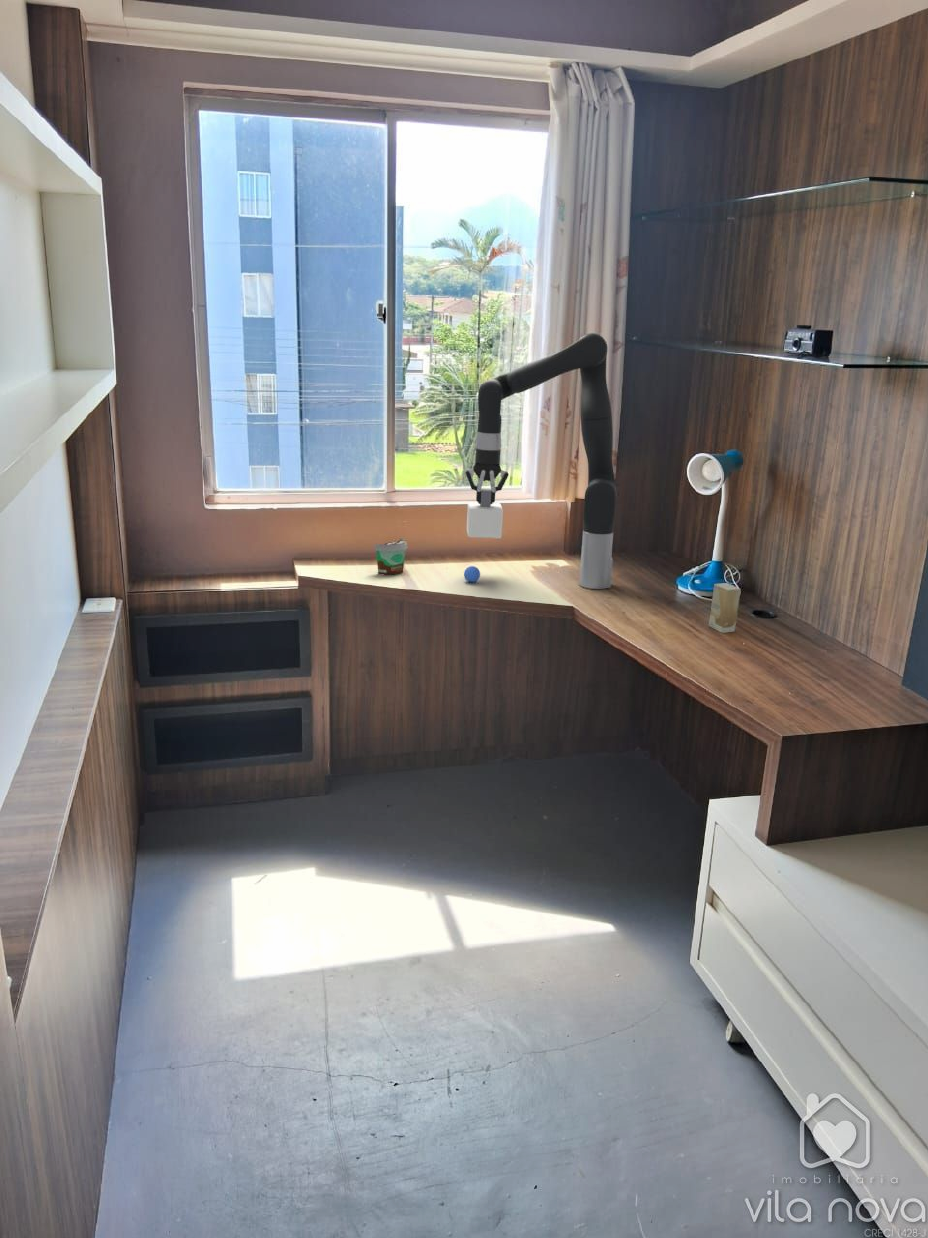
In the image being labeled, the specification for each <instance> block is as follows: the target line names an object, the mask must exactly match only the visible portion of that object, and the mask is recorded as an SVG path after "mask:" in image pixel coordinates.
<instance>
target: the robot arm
mask: <svg viewBox="0 0 928 1238" xmlns="http://www.w3.org/2000/svg"><path fill="white" fill-rule="evenodd" d="M607 355H608V344H607V341H606V340H605V338H604V337H603V336H602V335H600V334H598V333H593V332H591V333H586V334H584V335H582V336H581V337H580V338H579V339H578V340H576V341H575V342H572V344H570V345H569V346H567V347H565V348H563V349H562V350H559V351H558V352H554V353H553V354H549V355H546V356H544V357H542V358H539V359H535V360H532V361H530V362H527V363H525V364H523V365H520V366H519V367H515V368H513V369H512V370H510V371H508V372H507V373H503V374H500V375H498V376H495V377H492V378H490V379H487V380H485V381H483V382H482V384H480V386H479V389H478V393H477V395H478V396H477V402H478V405H477V407H478V408H477V409H478V420H477V433H476V440H475V459H474V460H475V461H474V465H473V467H472V468H470V469H466V470H465V471H464V472H465V475H466V478H467V481H468V482H469V483H468V484H469V486H470V489H471V490H473V491H475V492H476V496H475V497H476V498H475V499H476V503H478V504H481V489H482V486H483V483H484V482H486V481H488V482H489V485H490V489H491V504H493V503H496V502H495V501H496V493H497V492H498V491H499V492H500V491H501V490H502V489H503V487H504V486H505V483H506V481H507V479H508V477H509V474H510V473H509V472H508V471H505V470H502V468H501V465H500V463H501V451H502V449H501V448H502V436H501V435H502V434H501V432H502V415H501V408H502V405H501V404H502V400H504V399H507V398H508V397H511V396H513V395H515V394H520V393H523V392H526V391H528V390H531V389H533V388H535V387H538V386H540V385H542V384H543V383H545V382H548V381H550V380H552V379H555V378H557V377H558V376H560V375H563V374H566V373H569V372H572V371H574V370H578V369H579V372H580V373H579V374H580V377H581V378H580V379H581V391H580V392H581V393H580V394H581V395H580V404H579V405H580V408H579V411H580V417H579V418H580V428H581V429H580V430H581V436H582V443H583V447H584V450H585V454H586V459H587V468H588V469H587V472H588V473H587V474H588V475H587V477H588V478H587V487H586V489H585V492H584V499H583V501H584V502H583V516H582V517H583V518H582V519H583V520H582V526H583V527H582V541H581V552H580V553H581V554H580V567H579V568H580V570H579V579H578V580H579V583H578V584H579V586H580V587H582V588H584V589H591V590H604V589H611V585H612V584H611V583H612V573H613V562H614V561H613V560H614V559H613V557H612V554H613V553H612V552H613V542H614V541H613V540H614V531H615V530H614V528H615V512H616V499H617V496H618V487H617V485H616V484H617V483H616V480H615V479H616V478H615V474H614V473H615V471H614V466H613V446H614V445H613V444H614V443H613V442H614V441H613V440H614V439H613V437H614V433H613V429H614V428H613V415H612V405H611V401H610V395H609V388H608V383H607V382H608V381H607V358H608V356H607ZM474 473H475V475H476V476H477V485H475V483H474V481H473V476H474ZM499 475H500V480H499V481H498V484H497V486H496V482H495V479H496V478H497V477H498V476H499Z"/></svg>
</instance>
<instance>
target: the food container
mask: <svg viewBox="0 0 928 1238" xmlns="http://www.w3.org/2000/svg"><path fill="white" fill-rule="evenodd" d="M407 549H408V544H407V541H406V539H405V538H402V537H399V540H398V541H389V542H386V543H383V544H380V543H376V544H375V547H374V551H376V564H377V574H378V575H380V574H384V575H383V576H396V574H398V575H402V574H403V573H404V566H405V556H406V550H407Z"/></svg>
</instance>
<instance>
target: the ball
mask: <svg viewBox="0 0 928 1238" xmlns="http://www.w3.org/2000/svg"><path fill="white" fill-rule="evenodd" d="M463 576H464V577H463V578H464V579H465V580H466V581H467V582H468V583H476V582H477V581H479V579H481V578H480V577H481V571H480V570H479V568H478V567H476V566H474V565H472V566H471V565H470V566H468V567H466V568H465V570H464V571H463Z"/></svg>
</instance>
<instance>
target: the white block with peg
mask: <svg viewBox="0 0 928 1238" xmlns="http://www.w3.org/2000/svg"><path fill="white" fill-rule="evenodd" d="M466 508H467V509H466V510H467V511H466V528H465V529H466V532H467V533H466V534H467V537H468V538H483V539H484V538H485V539H487V538H488V539H502V535H503V519H504V517H503V516H504V508H503V507H502V505H501V503H500V502H497V503H496V502H493V504H491V488H481V504H478V502H477V501H476V502H475V501H473V502H472V501H471V502H470V501H468V502H467V507H466Z"/></svg>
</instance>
